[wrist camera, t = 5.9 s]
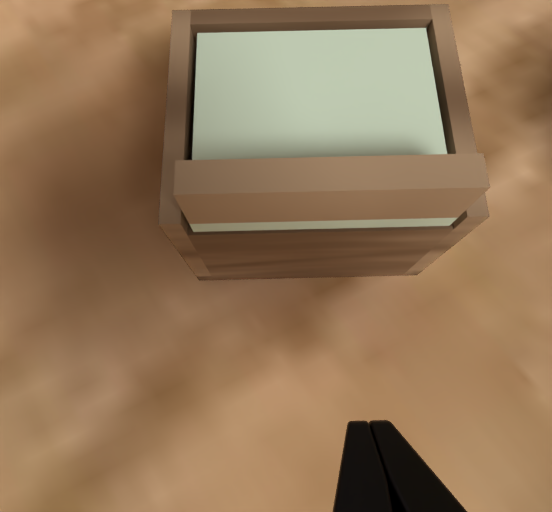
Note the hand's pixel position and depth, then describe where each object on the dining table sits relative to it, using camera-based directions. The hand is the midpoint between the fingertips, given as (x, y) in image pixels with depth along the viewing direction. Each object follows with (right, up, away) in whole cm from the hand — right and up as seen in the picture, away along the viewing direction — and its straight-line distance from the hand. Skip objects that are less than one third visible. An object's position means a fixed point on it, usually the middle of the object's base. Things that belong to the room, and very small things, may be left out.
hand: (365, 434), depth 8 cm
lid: (0, +9, +9) cm, 13 cm away
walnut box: (0, +7, +16) cm, 17 cm away
